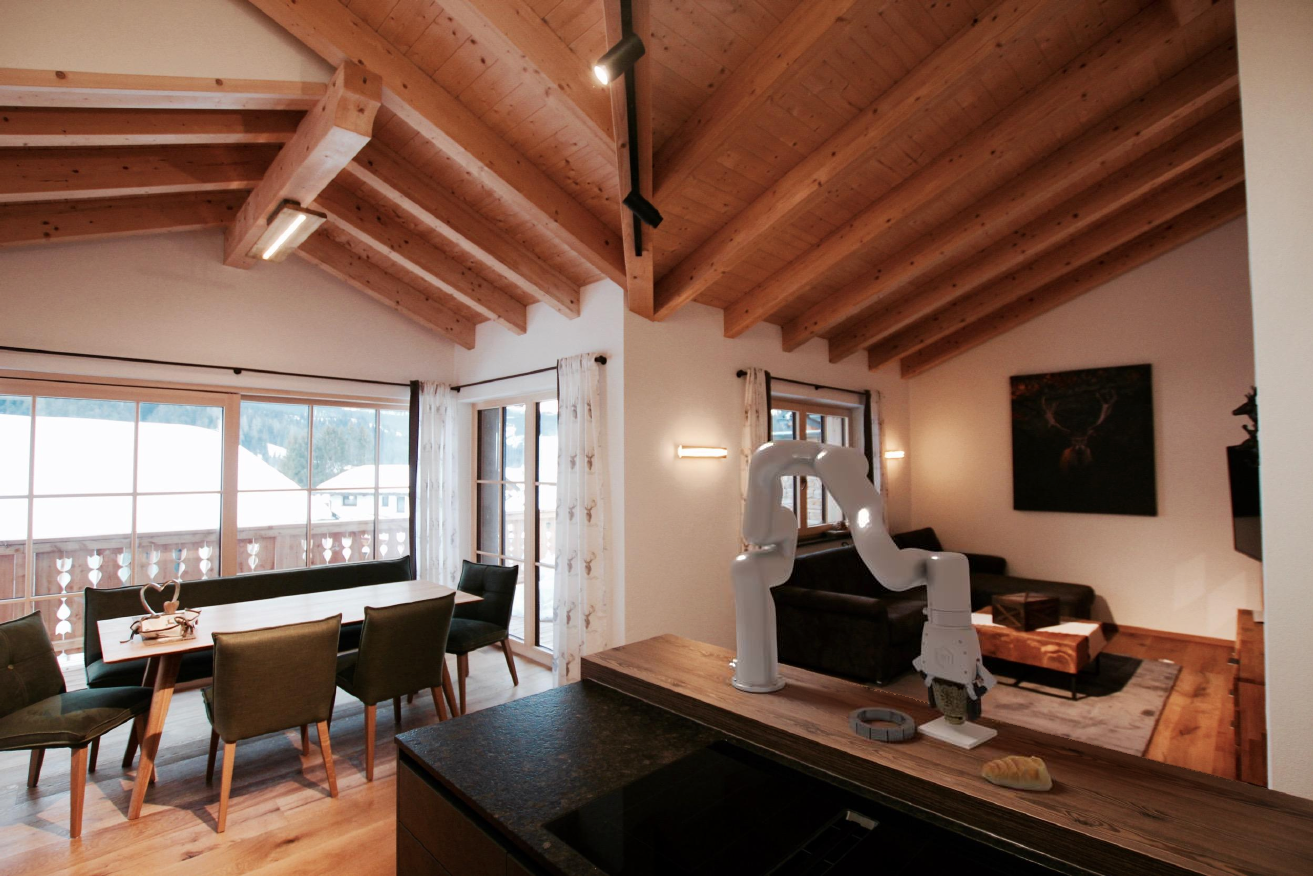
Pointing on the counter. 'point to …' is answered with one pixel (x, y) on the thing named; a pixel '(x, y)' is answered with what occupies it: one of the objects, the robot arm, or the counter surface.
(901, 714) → the stone ring
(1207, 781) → the counter surface
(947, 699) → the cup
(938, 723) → the stone coaster
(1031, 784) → the pastry
